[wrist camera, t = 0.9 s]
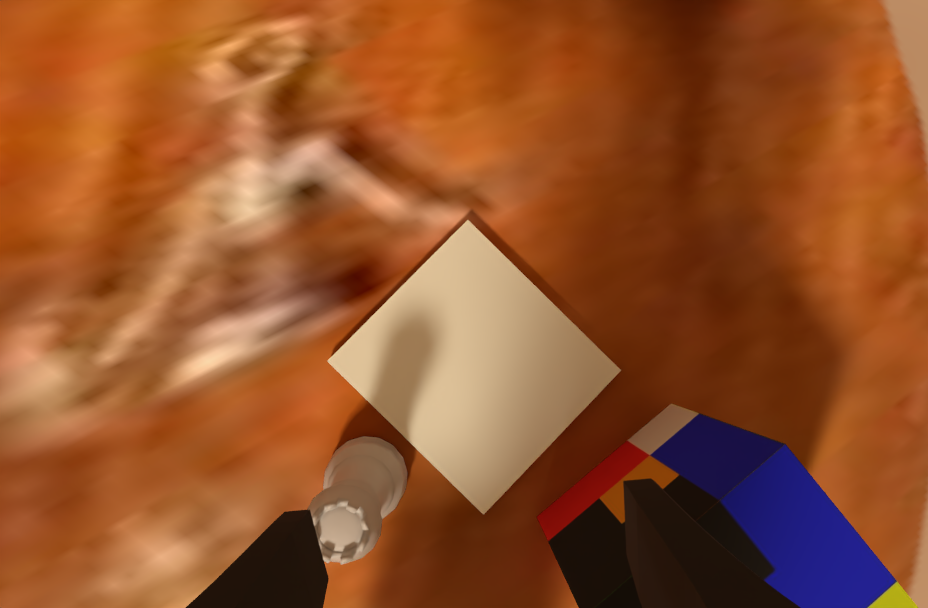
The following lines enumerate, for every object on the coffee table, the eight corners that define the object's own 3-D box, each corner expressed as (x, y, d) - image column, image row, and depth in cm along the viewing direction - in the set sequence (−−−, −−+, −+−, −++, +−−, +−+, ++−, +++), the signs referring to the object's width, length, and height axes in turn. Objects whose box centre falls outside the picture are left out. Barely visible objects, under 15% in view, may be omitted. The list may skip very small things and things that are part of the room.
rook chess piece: (330, 519, 29) (286, 595, 21) (324, 438, 29) (277, 482, 21) (411, 510, 29) (398, 583, 21) (405, 430, 29) (389, 471, 21)
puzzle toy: (670, 403, 30) (785, 444, 20) (781, 539, 30) (952, 650, 20) (536, 516, 29) (583, 617, 19) (648, 655, 29) (754, 829, 19)
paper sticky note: (482, 510, 29) (483, 514, 28) (329, 360, 29) (327, 361, 28) (617, 369, 29) (621, 370, 29) (467, 221, 29) (467, 219, 29)
